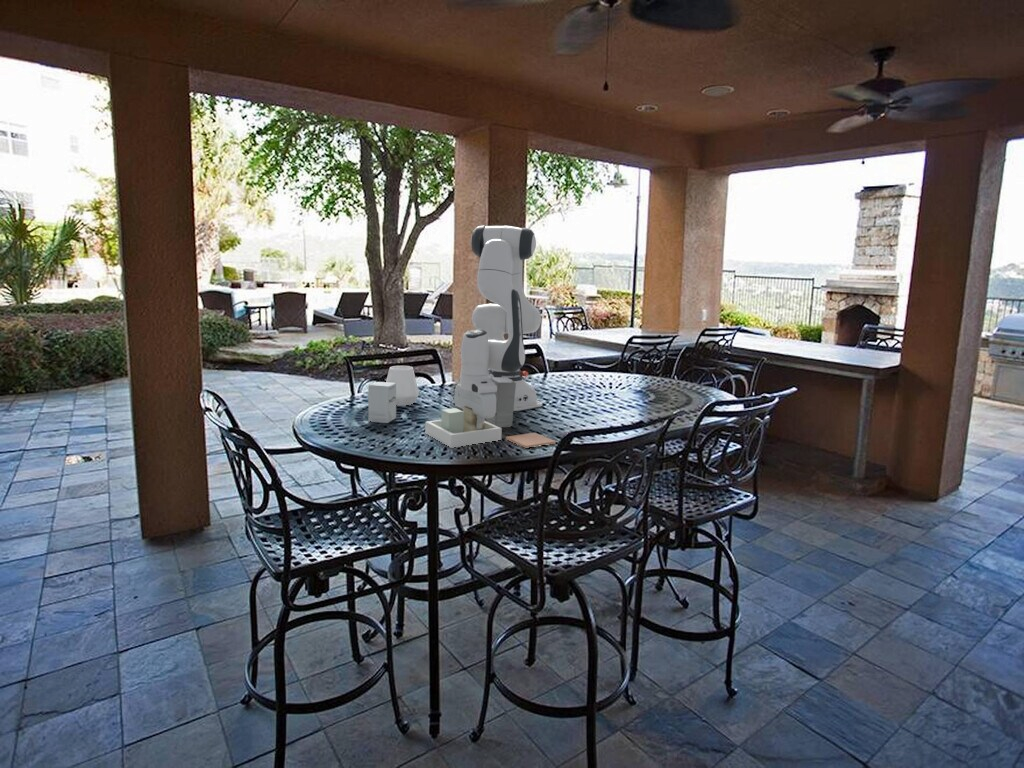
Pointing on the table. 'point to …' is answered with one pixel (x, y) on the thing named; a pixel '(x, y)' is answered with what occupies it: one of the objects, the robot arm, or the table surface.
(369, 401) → the supplement box
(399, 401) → the cup
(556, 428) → the table surface
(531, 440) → the tile
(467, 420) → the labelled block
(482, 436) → the bin
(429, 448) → the table surface
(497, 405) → the skincare box
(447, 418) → the plain block
